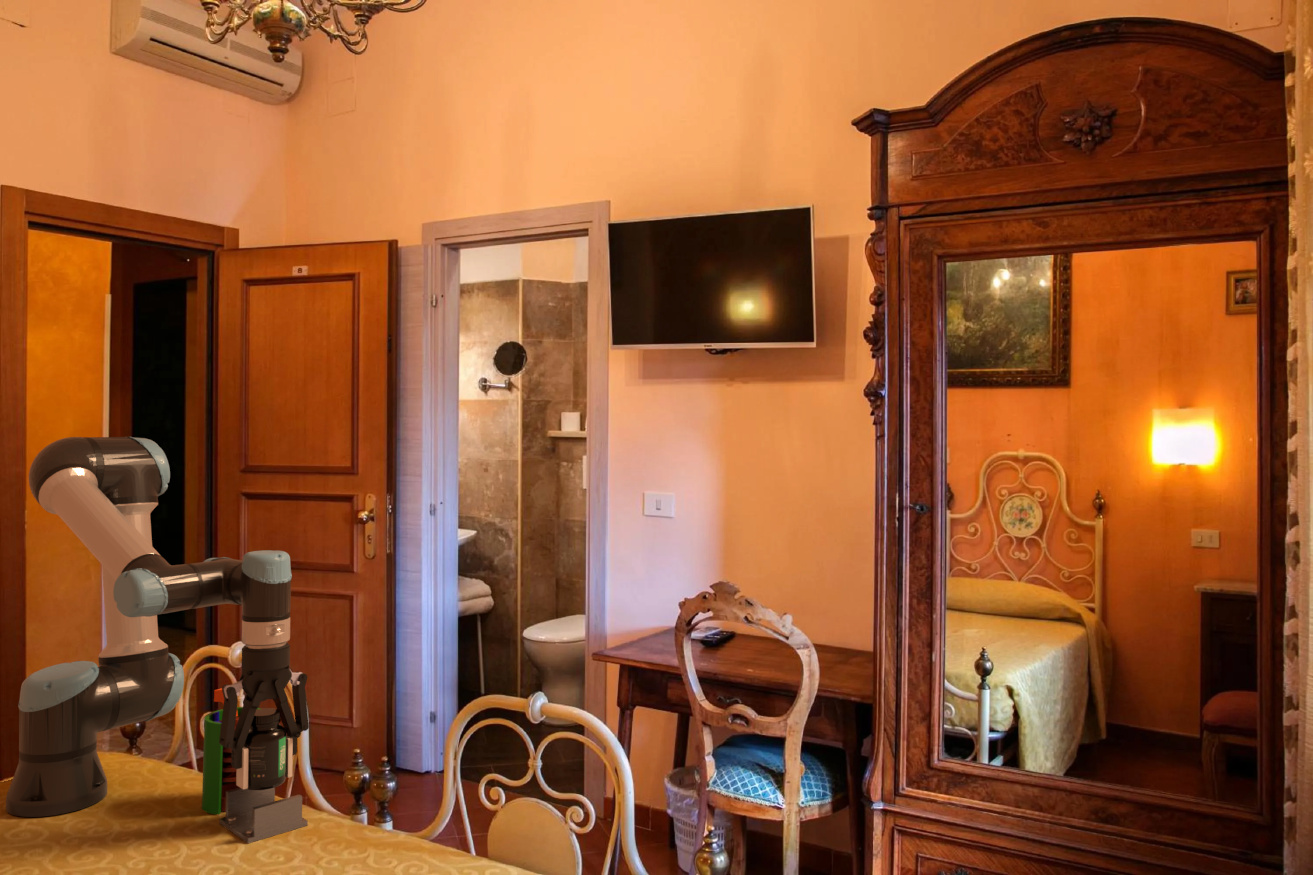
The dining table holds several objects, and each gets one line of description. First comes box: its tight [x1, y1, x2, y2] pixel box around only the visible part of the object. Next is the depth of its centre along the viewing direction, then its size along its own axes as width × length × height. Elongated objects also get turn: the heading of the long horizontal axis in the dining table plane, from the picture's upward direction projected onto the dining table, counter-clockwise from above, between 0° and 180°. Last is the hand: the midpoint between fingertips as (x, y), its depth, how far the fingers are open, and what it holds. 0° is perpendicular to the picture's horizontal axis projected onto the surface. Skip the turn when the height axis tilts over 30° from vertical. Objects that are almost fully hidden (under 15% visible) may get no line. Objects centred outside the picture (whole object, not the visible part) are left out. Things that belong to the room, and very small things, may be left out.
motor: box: [201, 687, 262, 815], centre depth 167 cm, size 10×9×20 cm
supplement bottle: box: [244, 707, 287, 790], centre depth 159 cm, size 7×7×12 cm
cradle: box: [219, 787, 308, 844], centre depth 159 cm, size 11×10×5 cm
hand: (264, 780), depth 159 cm, fingers closed on supplement bottle, 7 cm apart
